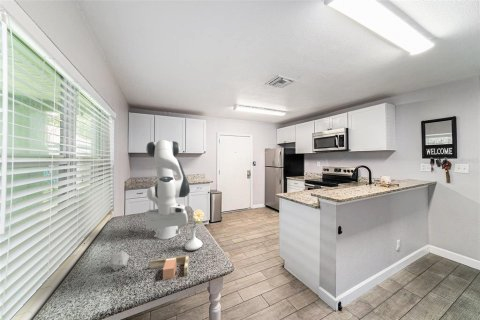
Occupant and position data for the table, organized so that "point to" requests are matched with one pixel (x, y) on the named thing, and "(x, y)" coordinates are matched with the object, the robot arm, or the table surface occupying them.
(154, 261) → the wooden corner bracket
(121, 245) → the table surface
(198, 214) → the flower in vase
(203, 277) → the table surface
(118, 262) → the die
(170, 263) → the block
